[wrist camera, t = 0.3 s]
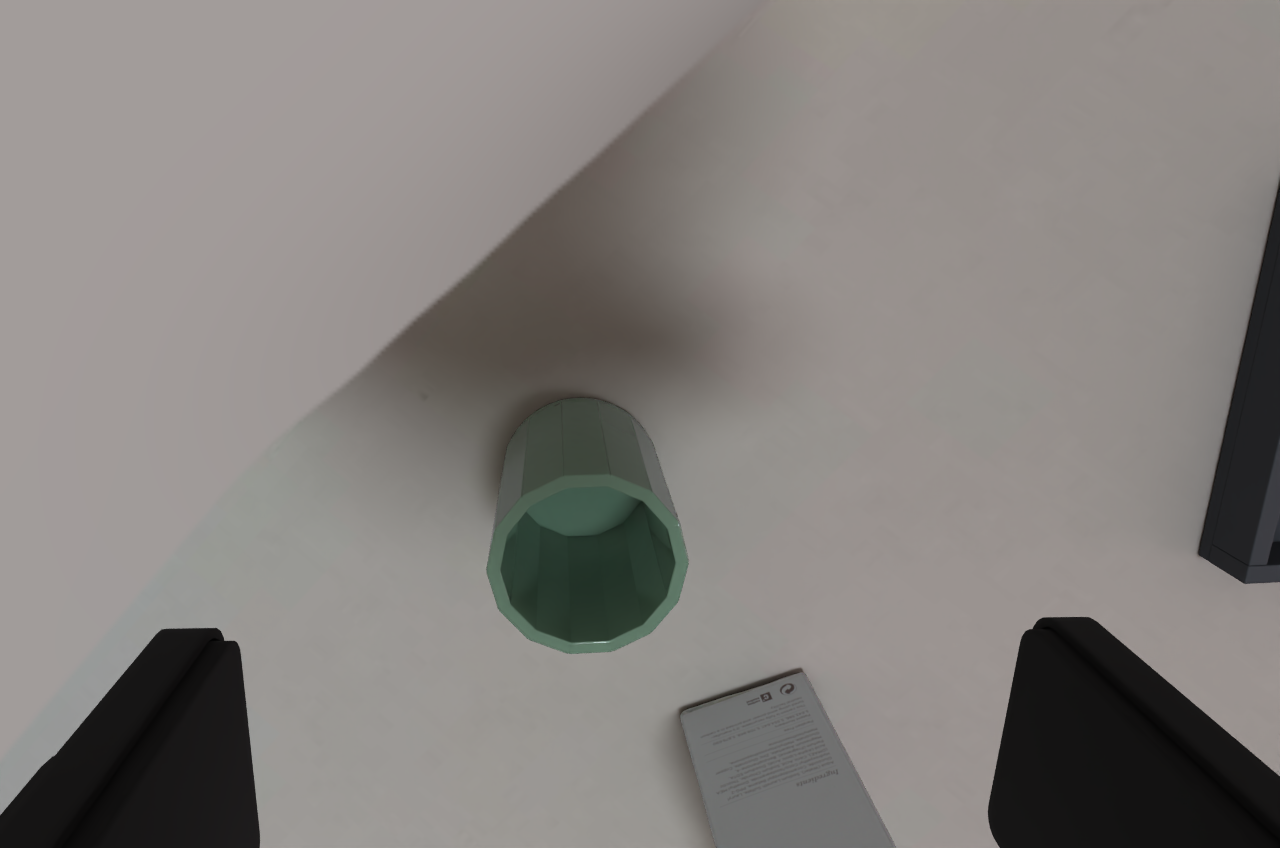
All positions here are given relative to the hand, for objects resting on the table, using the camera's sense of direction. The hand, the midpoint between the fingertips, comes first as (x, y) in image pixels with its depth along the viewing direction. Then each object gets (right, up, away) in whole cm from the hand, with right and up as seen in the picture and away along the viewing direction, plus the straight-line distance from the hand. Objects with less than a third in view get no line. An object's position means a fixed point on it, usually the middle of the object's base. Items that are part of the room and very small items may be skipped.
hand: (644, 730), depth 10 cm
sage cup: (-2, +2, +22) cm, 23 cm away
